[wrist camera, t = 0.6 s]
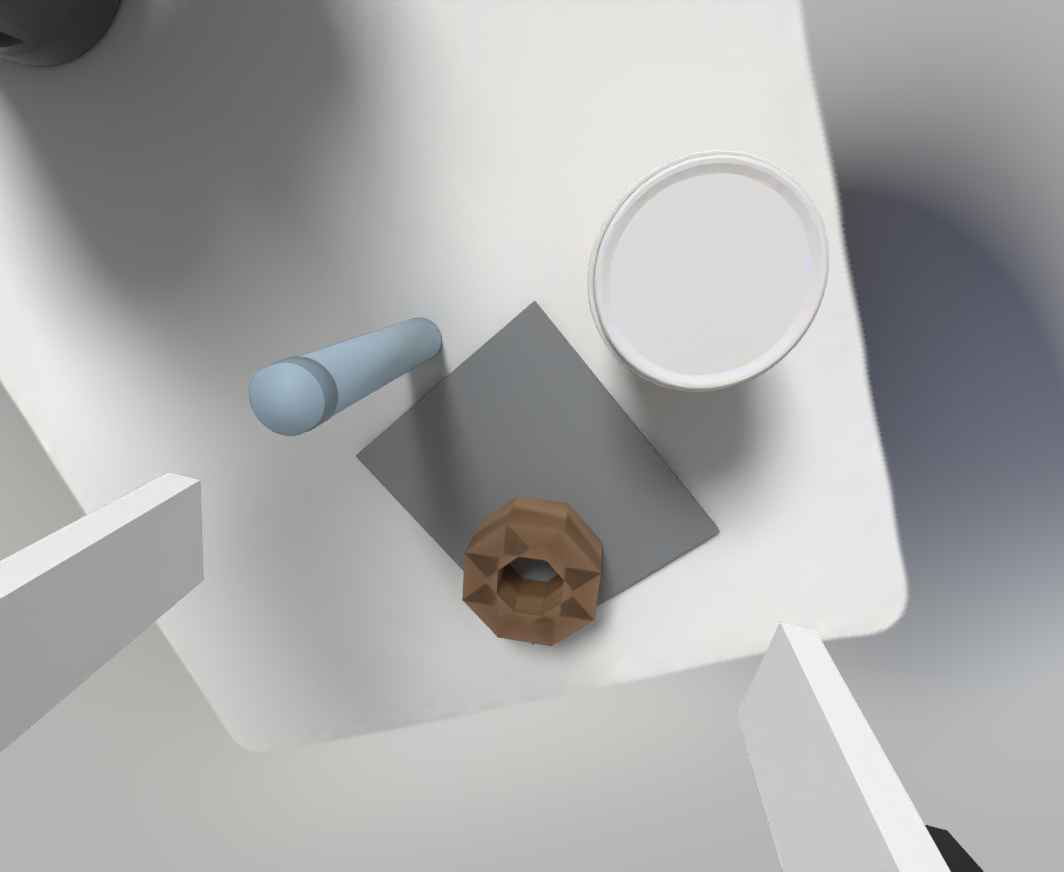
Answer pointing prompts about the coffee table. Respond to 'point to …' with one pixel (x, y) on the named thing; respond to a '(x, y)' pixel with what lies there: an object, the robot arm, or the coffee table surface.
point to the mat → (536, 457)
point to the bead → (526, 602)
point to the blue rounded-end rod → (338, 375)
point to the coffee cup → (708, 271)
